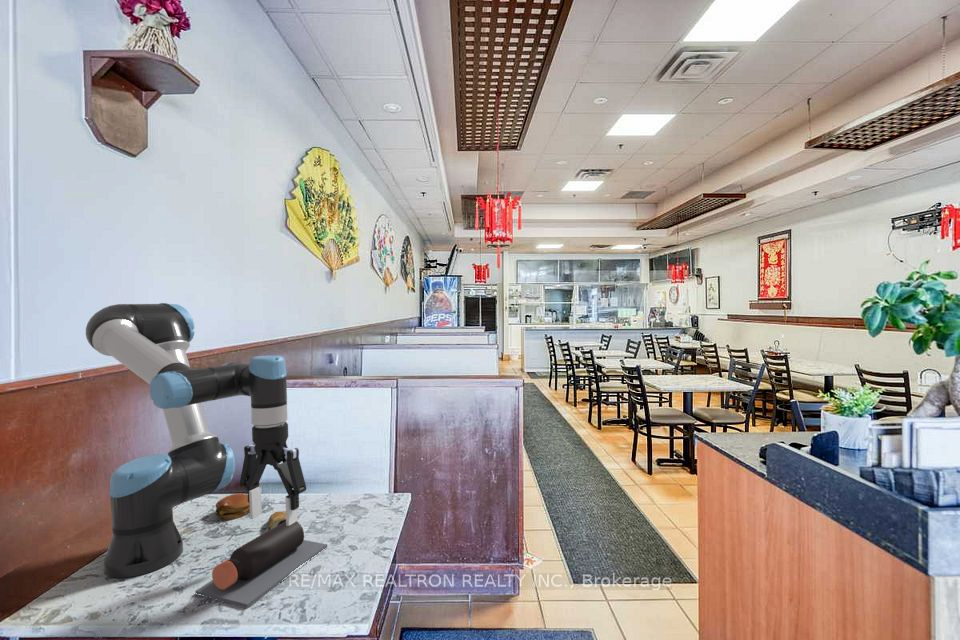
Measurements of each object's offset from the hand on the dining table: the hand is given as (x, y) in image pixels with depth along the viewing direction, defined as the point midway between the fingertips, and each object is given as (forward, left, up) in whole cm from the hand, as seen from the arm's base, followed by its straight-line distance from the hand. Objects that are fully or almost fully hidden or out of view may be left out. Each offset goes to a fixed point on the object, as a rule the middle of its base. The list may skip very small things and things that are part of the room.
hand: (273, 519), depth 107 cm
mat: (0, -3, -10) cm, 10 cm away
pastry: (-13, +15, -11) cm, 22 cm away
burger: (-32, +17, -11) cm, 38 cm away
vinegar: (0, +7, -6) cm, 9 cm away
